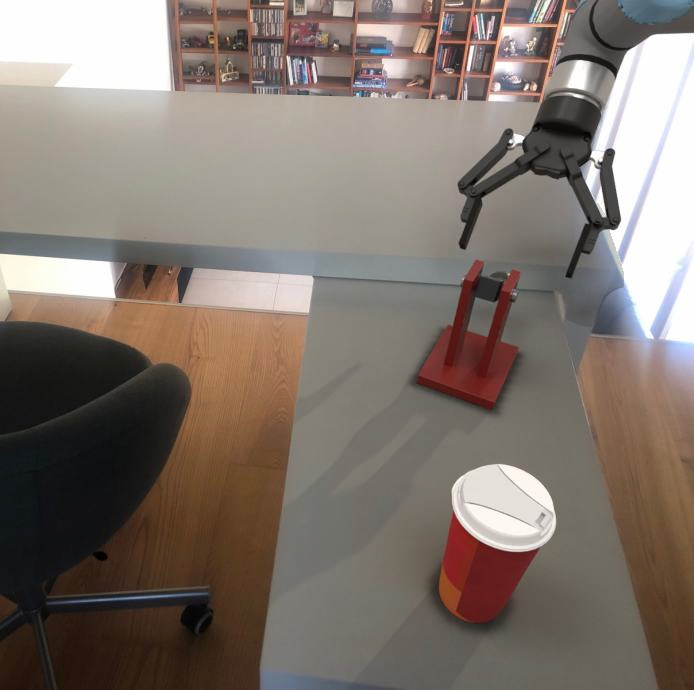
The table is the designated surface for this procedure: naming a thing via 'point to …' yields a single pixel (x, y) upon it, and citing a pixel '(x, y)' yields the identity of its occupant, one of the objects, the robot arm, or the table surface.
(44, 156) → the table surface
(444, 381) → the bracket
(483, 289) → the lever
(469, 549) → the paper cup
